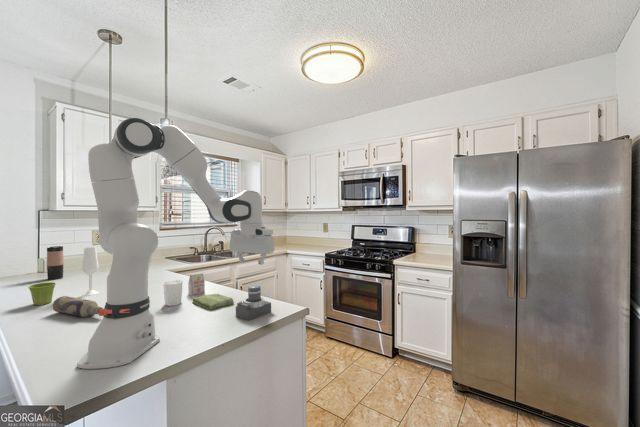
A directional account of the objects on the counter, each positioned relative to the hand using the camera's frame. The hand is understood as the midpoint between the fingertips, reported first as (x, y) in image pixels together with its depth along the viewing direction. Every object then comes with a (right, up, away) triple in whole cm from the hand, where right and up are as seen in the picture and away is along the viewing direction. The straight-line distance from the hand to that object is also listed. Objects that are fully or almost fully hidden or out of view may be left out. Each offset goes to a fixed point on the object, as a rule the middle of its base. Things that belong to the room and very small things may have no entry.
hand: (251, 263), depth 120 cm
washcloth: (-21, -22, +14) cm, 34 cm away
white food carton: (-36, -21, +30) cm, 51 cm away
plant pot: (-100, -21, +14) cm, 103 cm away
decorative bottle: (-71, -22, -1) cm, 74 cm away
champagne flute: (-90, -21, +30) cm, 97 cm away
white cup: (-39, -21, +14) cm, 47 cm away
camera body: (+1, -21, 0) cm, 21 cm away
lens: (+1, -17, 0) cm, 17 cm away
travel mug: (-138, -21, +62) cm, 153 cm away
